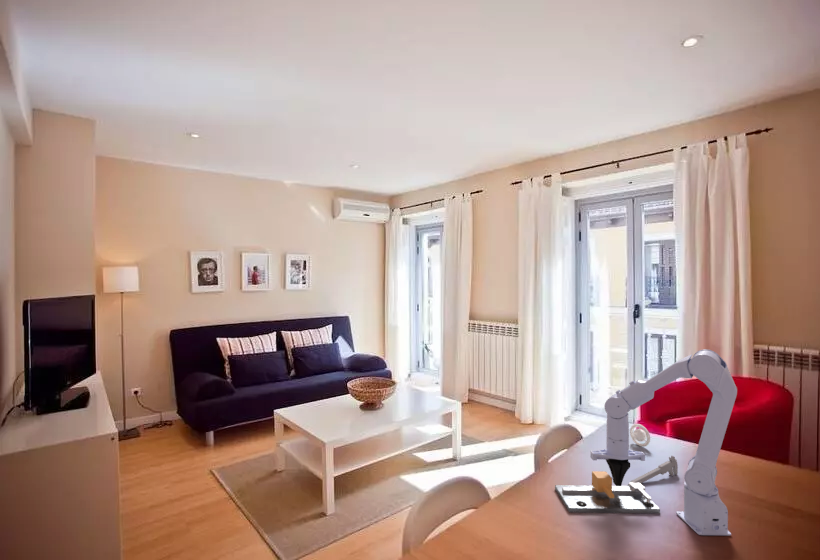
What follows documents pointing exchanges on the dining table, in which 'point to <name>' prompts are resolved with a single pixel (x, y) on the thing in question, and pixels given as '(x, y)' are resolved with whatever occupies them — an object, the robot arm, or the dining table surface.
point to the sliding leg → (603, 483)
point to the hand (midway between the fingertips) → (617, 484)
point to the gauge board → (606, 499)
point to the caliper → (659, 471)
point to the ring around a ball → (640, 435)
